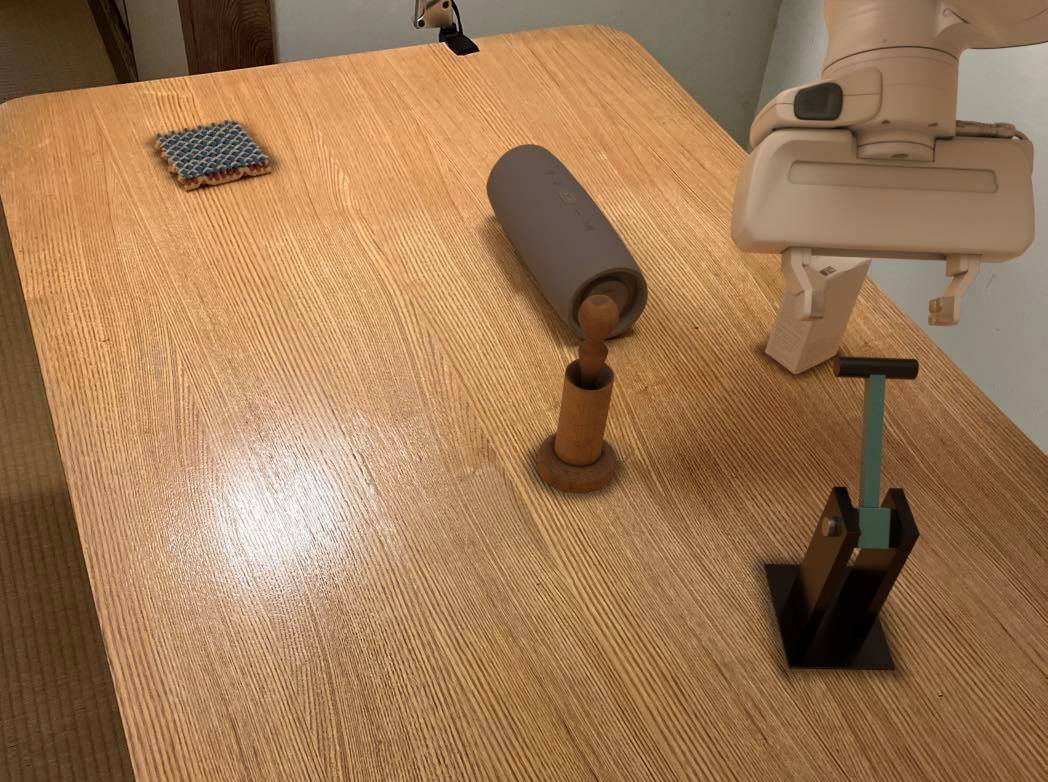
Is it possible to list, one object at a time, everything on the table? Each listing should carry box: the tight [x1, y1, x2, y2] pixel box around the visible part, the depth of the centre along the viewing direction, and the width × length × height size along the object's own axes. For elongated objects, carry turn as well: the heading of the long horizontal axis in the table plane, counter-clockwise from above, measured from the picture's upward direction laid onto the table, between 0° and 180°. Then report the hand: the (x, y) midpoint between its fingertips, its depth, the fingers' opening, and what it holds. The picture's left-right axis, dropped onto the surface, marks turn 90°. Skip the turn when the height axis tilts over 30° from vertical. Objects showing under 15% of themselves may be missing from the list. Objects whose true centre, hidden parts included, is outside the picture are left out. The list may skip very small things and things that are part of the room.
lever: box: [832, 355, 920, 550], centre depth 74 cm, size 13×6×2 cm
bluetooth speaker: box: [486, 143, 649, 340], centre depth 107 cm, size 23×9×10 cm, turn 20°
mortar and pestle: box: [536, 295, 619, 494], centre depth 85 cm, size 7×6×18 cm
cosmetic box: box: [764, 256, 873, 375], centre depth 100 cm, size 6×4×12 cm
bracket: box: [763, 485, 921, 671], centre depth 78 cm, size 10×8×13 cm
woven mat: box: [154, 119, 273, 192], centre depth 121 cm, size 10×11×2 cm
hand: (877, 322), depth 74 cm, fingers open, 8 cm apart
